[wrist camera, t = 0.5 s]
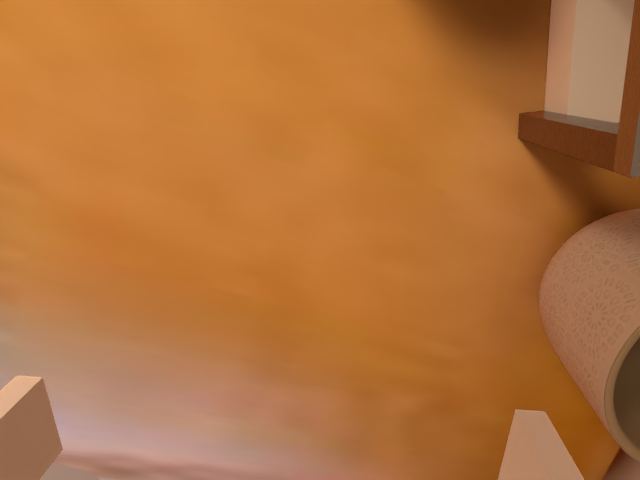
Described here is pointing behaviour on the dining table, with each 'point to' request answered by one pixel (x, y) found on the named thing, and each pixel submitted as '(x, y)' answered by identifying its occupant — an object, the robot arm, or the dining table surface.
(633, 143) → the gray arch stand
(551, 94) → the socket deck
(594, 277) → the planter
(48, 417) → the robot arm
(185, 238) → the dining table surface
